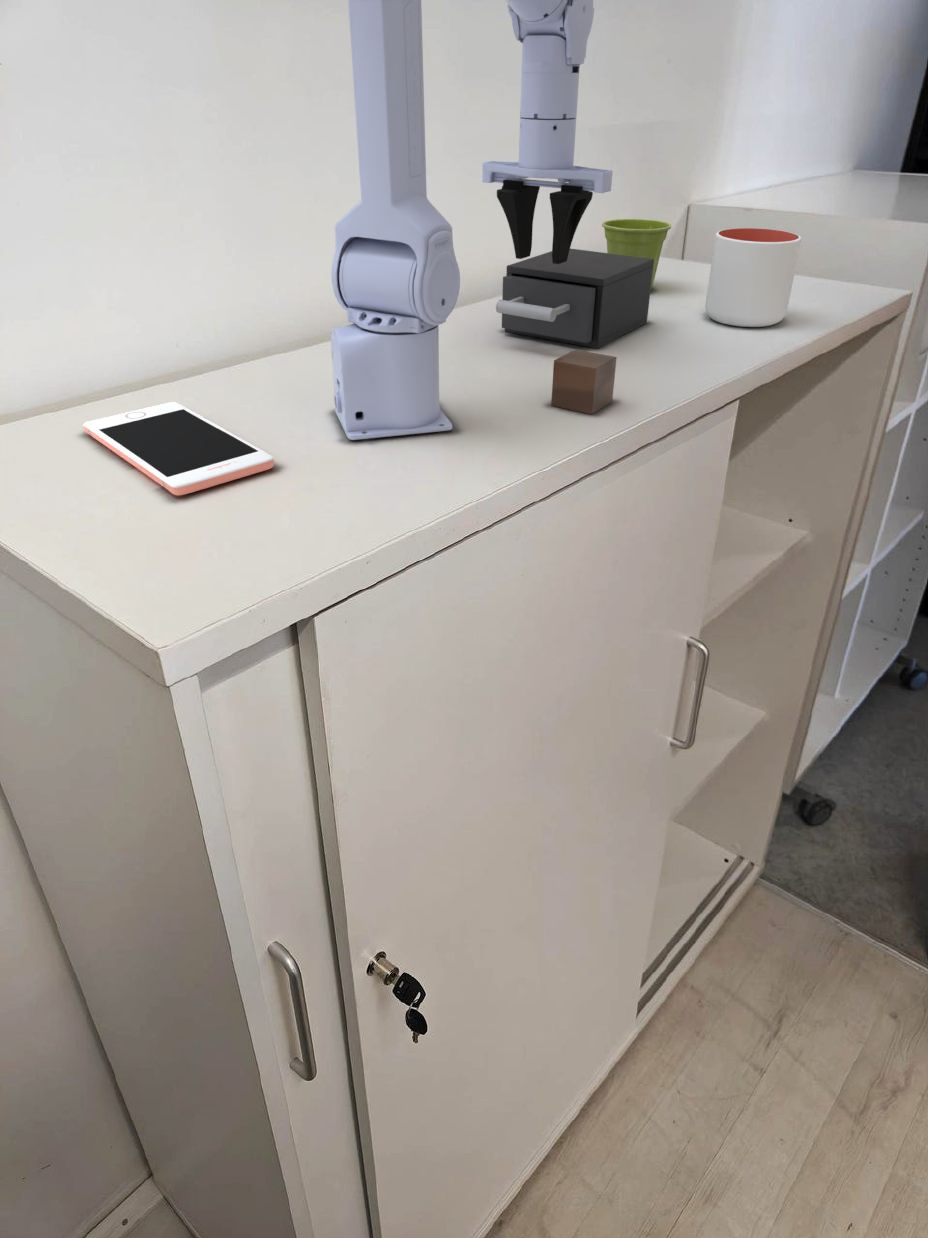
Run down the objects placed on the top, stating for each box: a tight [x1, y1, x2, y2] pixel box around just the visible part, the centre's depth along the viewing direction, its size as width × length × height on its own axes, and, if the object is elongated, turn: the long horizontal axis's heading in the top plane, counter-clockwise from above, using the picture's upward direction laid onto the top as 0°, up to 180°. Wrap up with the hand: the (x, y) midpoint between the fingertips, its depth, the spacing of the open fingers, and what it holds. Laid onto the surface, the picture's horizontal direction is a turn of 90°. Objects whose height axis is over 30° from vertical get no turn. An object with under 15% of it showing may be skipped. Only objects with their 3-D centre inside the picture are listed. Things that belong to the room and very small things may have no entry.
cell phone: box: [83, 401, 275, 496], centre depth 75 cm, size 9×18×1 cm, turn 41°
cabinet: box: [504, 248, 654, 350], centre depth 107 cm, size 14×13×8 cm
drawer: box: [495, 275, 597, 343], centre depth 104 cm, size 17×11×6 cm, turn 146°
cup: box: [704, 227, 802, 328], centre depth 110 cm, size 10×10×10 cm
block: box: [550, 349, 617, 415], centre depth 85 cm, size 4×4×4 cm
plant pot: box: [601, 218, 672, 290], centre depth 124 cm, size 9×9×9 cm
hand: (541, 259), depth 97 cm, fingers open, 4 cm apart
